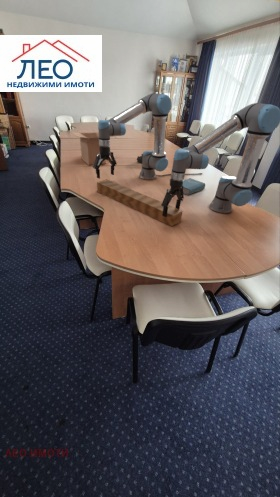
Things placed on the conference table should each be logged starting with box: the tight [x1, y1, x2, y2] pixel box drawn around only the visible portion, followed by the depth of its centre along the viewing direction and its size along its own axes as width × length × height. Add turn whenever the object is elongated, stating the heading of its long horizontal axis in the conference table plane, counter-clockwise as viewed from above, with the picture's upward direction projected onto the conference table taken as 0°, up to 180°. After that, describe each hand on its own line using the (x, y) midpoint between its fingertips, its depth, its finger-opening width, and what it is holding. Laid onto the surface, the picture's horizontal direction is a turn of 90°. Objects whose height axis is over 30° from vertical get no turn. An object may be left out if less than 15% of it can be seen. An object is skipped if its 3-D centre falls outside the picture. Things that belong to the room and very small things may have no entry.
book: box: [183, 177, 206, 196], centre depth 186 cm, size 23×16×5 cm
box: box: [70, 129, 114, 166], centre depth 229 cm, size 44×36×27 cm
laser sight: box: [136, 153, 143, 164], centre depth 240 cm, size 10×22×10 cm, turn 78°
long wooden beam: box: [96, 178, 183, 227], centre depth 155 cm, size 72×10×7 cm, turn 48°
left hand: (105, 176), depth 166 cm, fingers open, 13 cm apart
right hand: (170, 212), depth 138 cm, fingers open, 13 cm apart
